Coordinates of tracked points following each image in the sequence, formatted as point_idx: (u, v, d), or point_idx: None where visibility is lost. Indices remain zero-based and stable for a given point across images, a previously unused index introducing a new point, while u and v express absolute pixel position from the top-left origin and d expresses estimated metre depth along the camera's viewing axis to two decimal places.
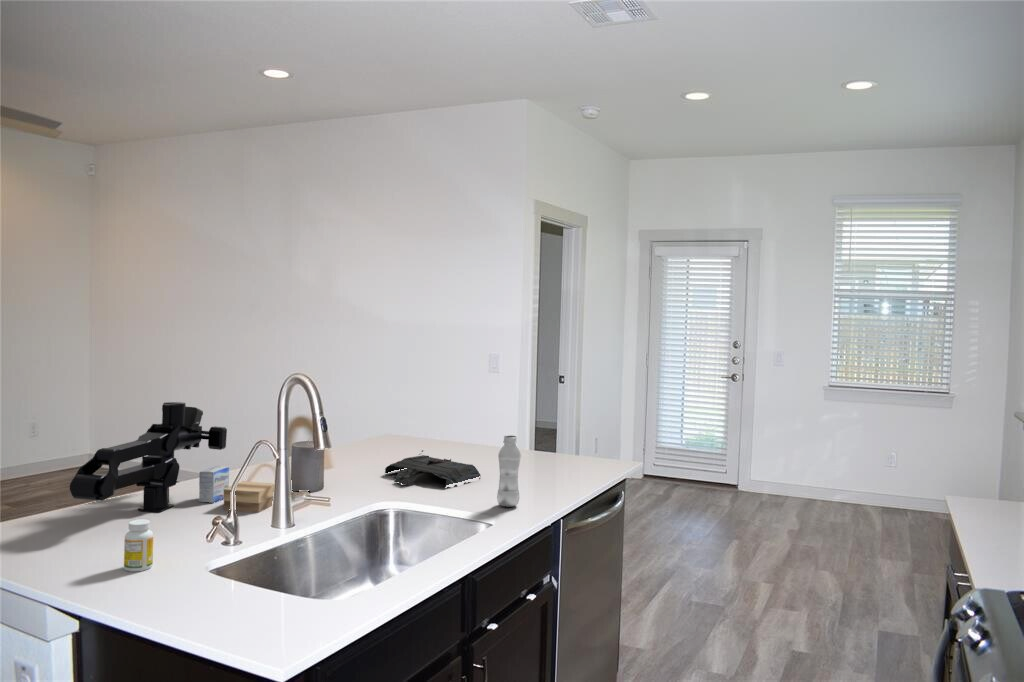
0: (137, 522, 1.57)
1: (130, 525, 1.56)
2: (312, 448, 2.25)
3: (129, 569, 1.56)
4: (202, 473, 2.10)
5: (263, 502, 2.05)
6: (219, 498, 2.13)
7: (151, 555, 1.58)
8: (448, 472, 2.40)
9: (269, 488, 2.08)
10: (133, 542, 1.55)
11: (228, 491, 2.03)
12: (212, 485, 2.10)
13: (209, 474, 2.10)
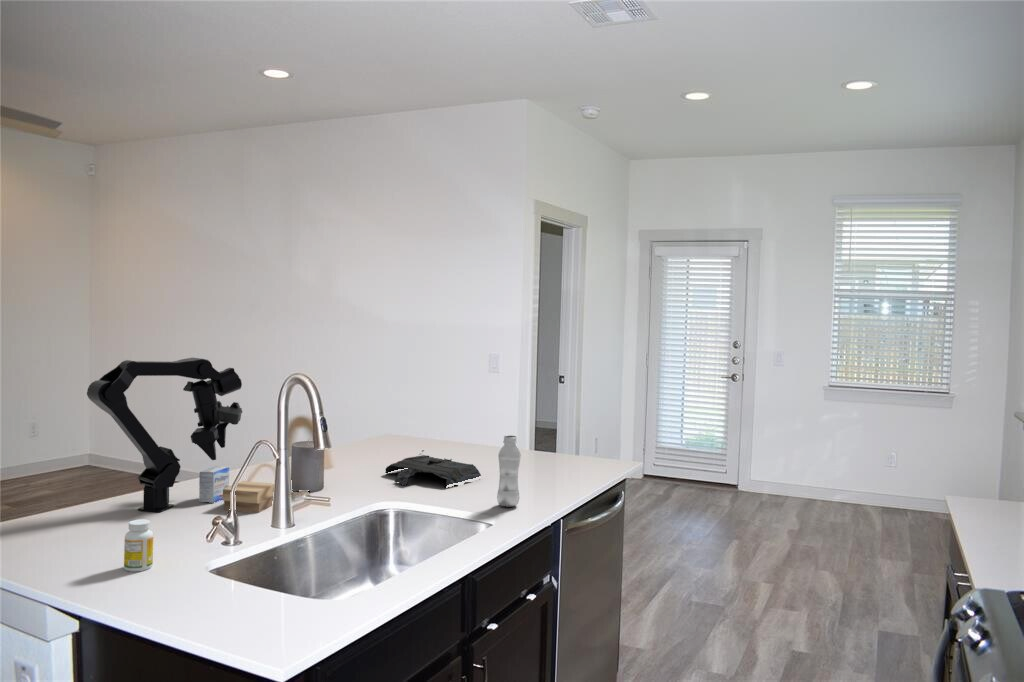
0: (137, 522, 1.57)
1: (130, 525, 1.56)
2: (312, 448, 2.25)
3: (129, 569, 1.56)
4: (202, 473, 2.10)
5: (263, 502, 2.05)
6: (219, 498, 2.13)
7: (151, 555, 1.58)
8: (448, 472, 2.40)
9: (268, 488, 2.08)
10: (133, 542, 1.55)
11: (227, 491, 2.04)
12: (212, 485, 2.10)
13: (209, 474, 2.10)
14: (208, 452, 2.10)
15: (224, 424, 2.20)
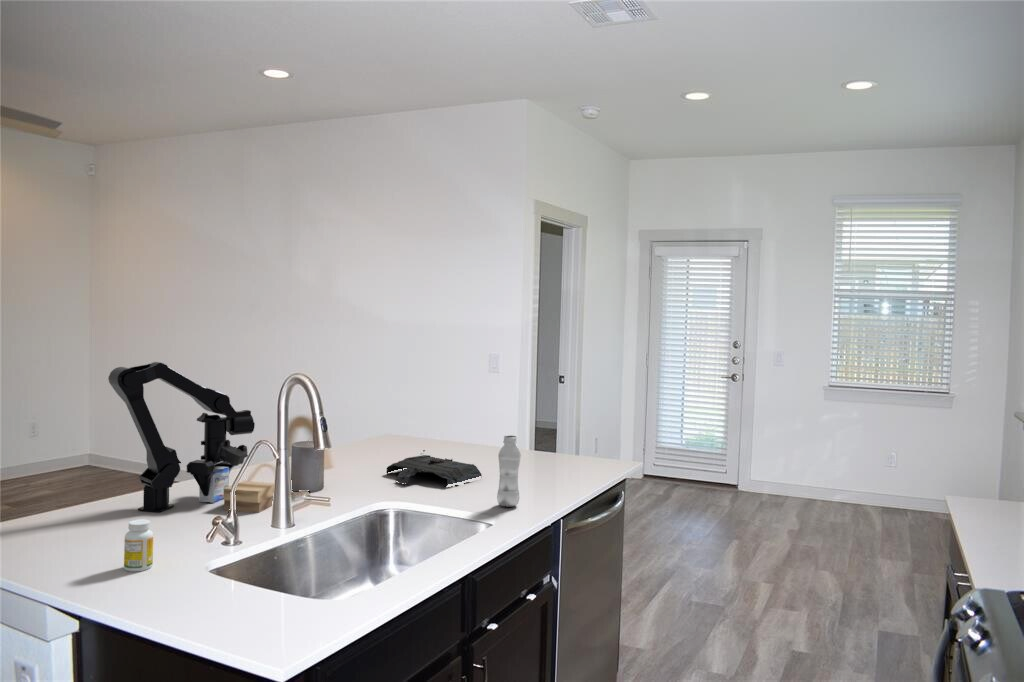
0: (137, 522, 1.57)
1: (130, 525, 1.56)
2: (312, 448, 2.25)
3: (129, 569, 1.56)
4: None
5: (263, 502, 2.05)
6: (219, 498, 2.13)
7: (151, 555, 1.58)
8: (449, 472, 2.41)
9: (269, 488, 2.08)
10: (133, 542, 1.55)
11: (228, 490, 2.04)
12: (213, 485, 2.10)
13: None
14: (202, 486, 2.09)
15: (229, 465, 2.18)
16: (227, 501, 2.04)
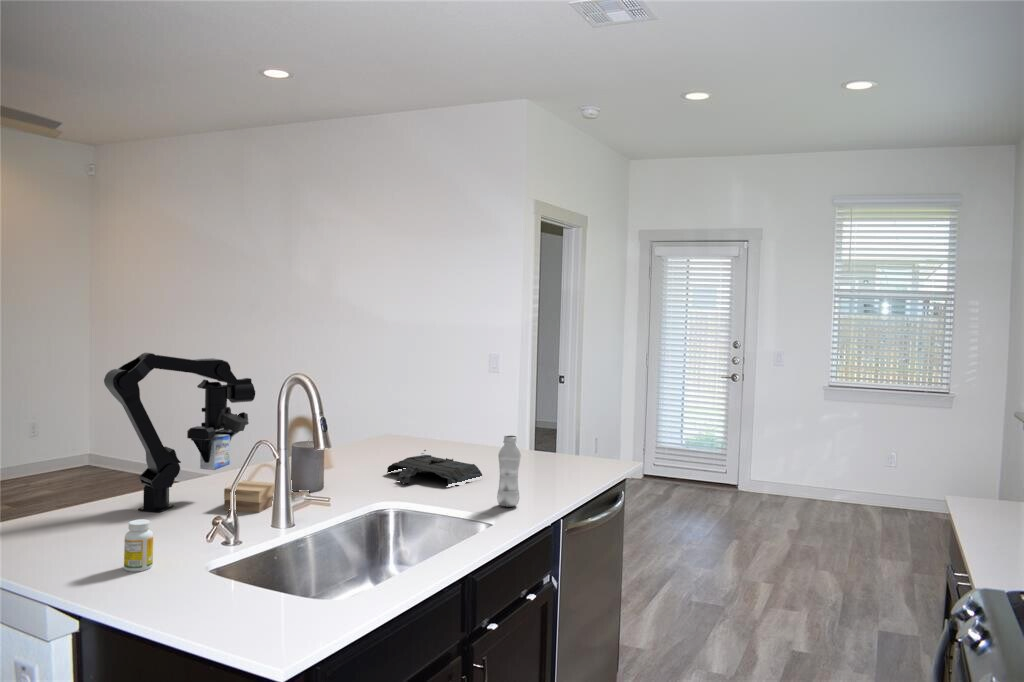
0: (137, 522, 1.57)
1: (130, 525, 1.56)
2: (312, 448, 2.25)
3: (129, 569, 1.56)
4: None
5: (263, 502, 2.05)
6: (220, 465, 2.12)
7: (151, 555, 1.58)
8: (450, 471, 2.41)
9: (270, 488, 2.08)
10: (133, 542, 1.55)
11: (229, 490, 2.04)
12: (213, 452, 2.09)
13: None
14: (202, 453, 2.08)
15: (229, 433, 2.18)
16: (227, 501, 2.04)
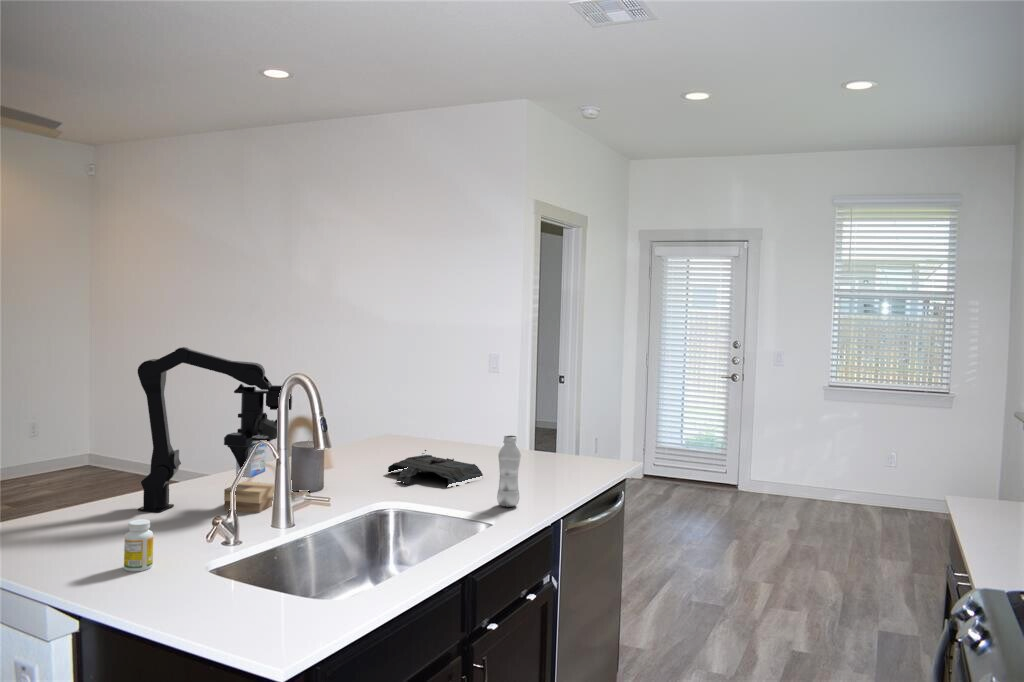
0: (137, 522, 1.57)
1: (130, 525, 1.56)
2: (312, 448, 2.25)
3: (129, 569, 1.56)
4: None
5: (264, 502, 2.05)
6: (256, 473, 2.06)
7: (151, 555, 1.58)
8: (450, 471, 2.41)
9: (270, 488, 2.08)
10: (133, 542, 1.55)
11: (229, 491, 2.03)
12: None
13: None
14: (239, 460, 2.02)
15: None
16: (227, 501, 2.04)
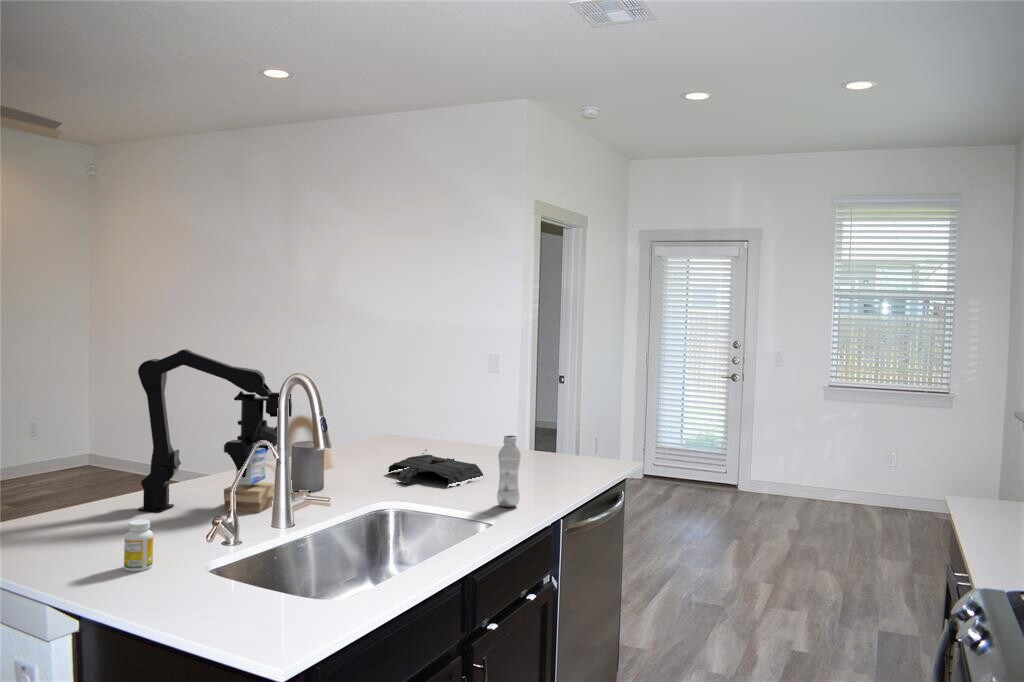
0: (137, 522, 1.57)
1: (130, 525, 1.56)
2: (312, 448, 2.25)
3: (129, 569, 1.56)
4: None
5: (264, 502, 2.05)
6: (256, 480, 2.06)
7: (151, 555, 1.58)
8: (450, 471, 2.42)
9: (269, 488, 2.08)
10: (133, 542, 1.55)
11: (228, 491, 2.03)
12: (250, 466, 2.03)
13: None
14: (239, 467, 2.03)
15: (265, 447, 2.12)
16: (227, 501, 2.03)
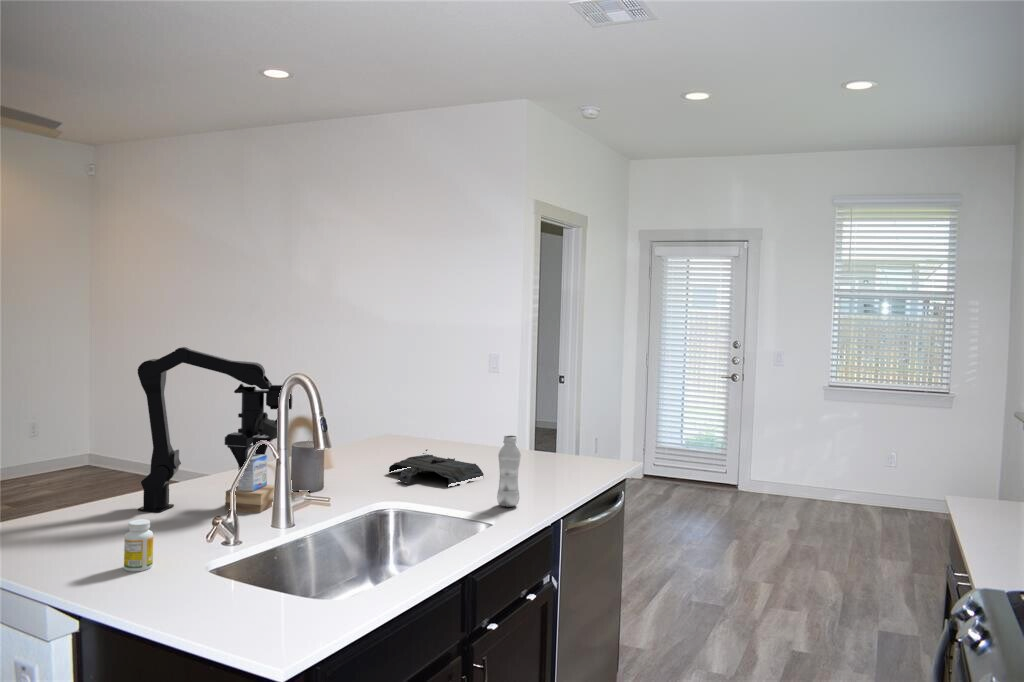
0: (137, 522, 1.57)
1: (130, 525, 1.56)
2: (312, 448, 2.25)
3: (129, 569, 1.56)
4: None
5: (264, 504, 2.05)
6: (258, 486, 2.07)
7: (151, 555, 1.58)
8: (451, 471, 2.42)
9: (271, 490, 2.08)
10: (133, 542, 1.55)
11: None
12: (252, 473, 2.04)
13: None
14: (239, 460, 2.02)
15: (267, 439, 2.12)
16: (228, 503, 2.03)
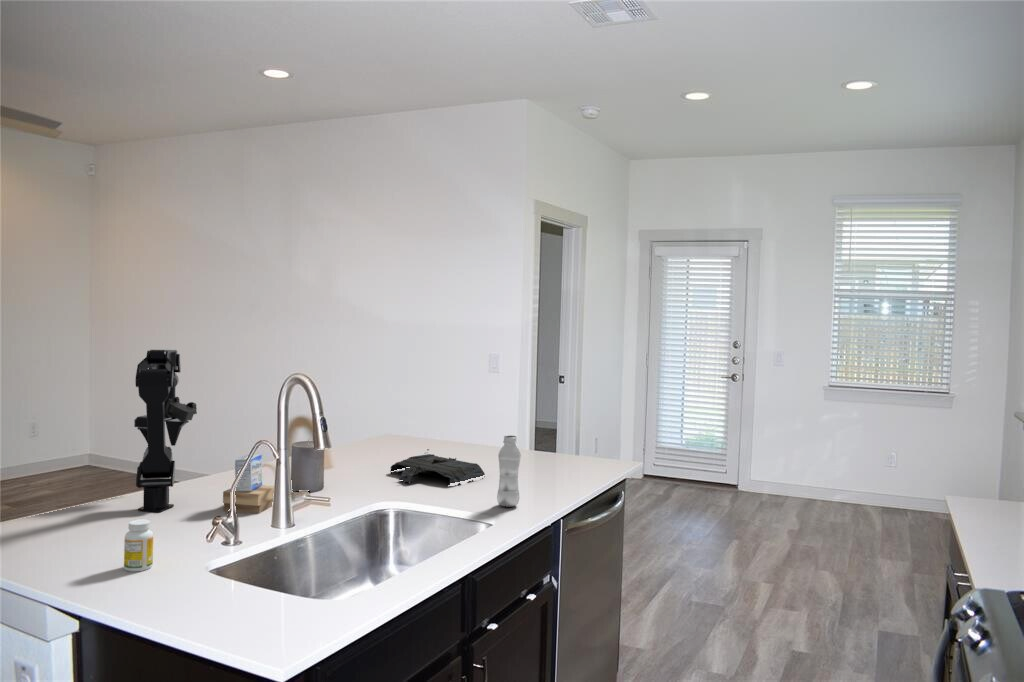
0: (137, 522, 1.57)
1: (130, 525, 1.56)
2: (312, 448, 2.25)
3: (129, 569, 1.56)
4: (238, 461, 2.03)
5: (263, 504, 2.04)
6: (255, 486, 2.06)
7: (151, 555, 1.58)
8: (452, 471, 2.42)
9: (269, 491, 2.07)
10: (133, 542, 1.55)
11: (227, 493, 2.02)
12: (250, 473, 2.03)
13: None
14: None
15: (180, 422, 2.23)
16: (227, 503, 2.03)
